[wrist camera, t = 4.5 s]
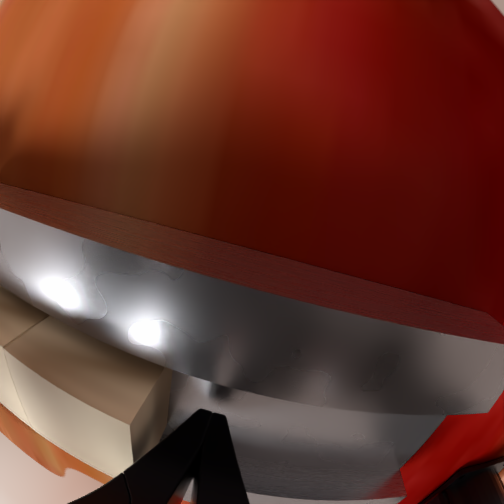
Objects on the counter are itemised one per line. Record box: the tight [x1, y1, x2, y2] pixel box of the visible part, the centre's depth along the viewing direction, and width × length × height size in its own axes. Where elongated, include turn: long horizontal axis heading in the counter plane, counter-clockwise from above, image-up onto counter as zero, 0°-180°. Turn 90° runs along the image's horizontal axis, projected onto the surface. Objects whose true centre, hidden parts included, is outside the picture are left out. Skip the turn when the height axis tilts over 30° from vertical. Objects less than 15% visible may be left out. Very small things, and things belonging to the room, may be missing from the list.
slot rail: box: [0, 183, 504, 504], centre depth 8 cm, size 20×10×3 cm, turn 76°
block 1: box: [0, 285, 50, 428], centre depth 7 cm, size 4×4×3 cm
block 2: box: [3, 316, 173, 478], centre depth 7 cm, size 4×4×3 cm
